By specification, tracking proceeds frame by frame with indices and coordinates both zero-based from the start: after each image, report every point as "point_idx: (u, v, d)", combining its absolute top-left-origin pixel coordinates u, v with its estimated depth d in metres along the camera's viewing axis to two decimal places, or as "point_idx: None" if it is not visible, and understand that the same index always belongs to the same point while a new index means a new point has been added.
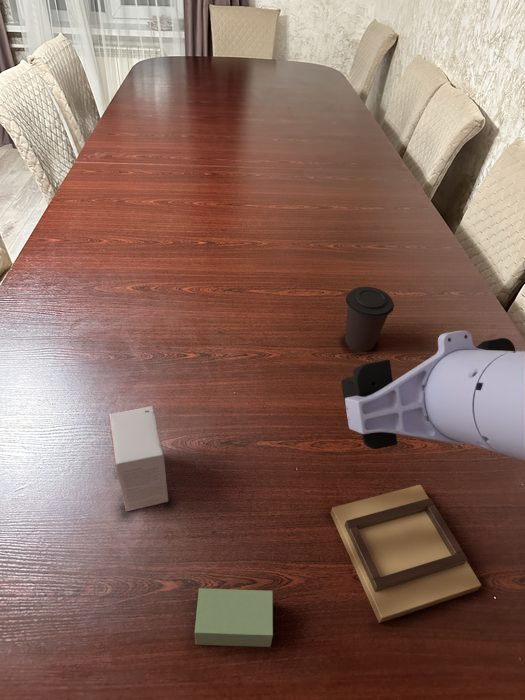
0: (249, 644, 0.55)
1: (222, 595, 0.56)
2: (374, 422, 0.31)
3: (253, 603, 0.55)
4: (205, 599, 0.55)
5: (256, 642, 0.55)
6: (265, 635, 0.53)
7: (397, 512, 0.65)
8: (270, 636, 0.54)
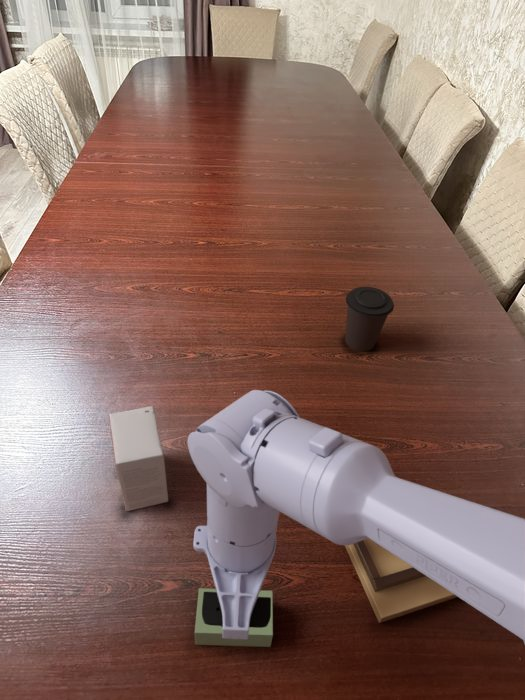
0: (249, 644, 0.55)
1: None
2: (243, 617, 0.40)
3: None
4: None
5: (256, 642, 0.55)
6: (265, 635, 0.53)
7: None
8: (270, 636, 0.54)
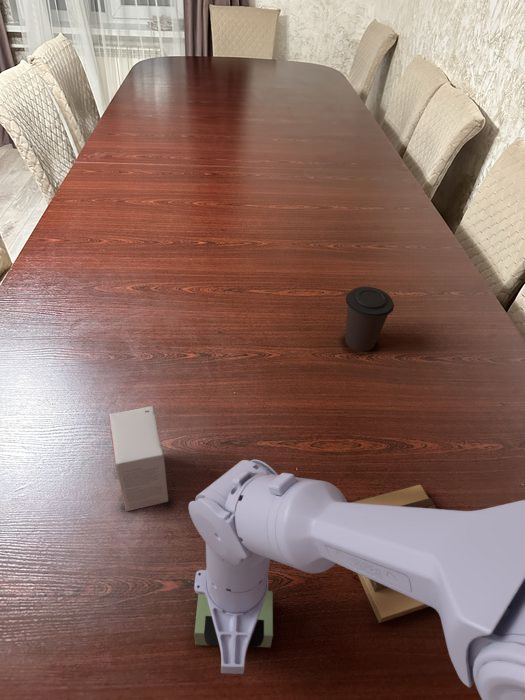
0: None
1: None
2: (239, 654, 0.46)
3: None
4: (205, 599, 0.55)
5: None
6: (265, 635, 0.53)
7: None
8: (270, 636, 0.53)
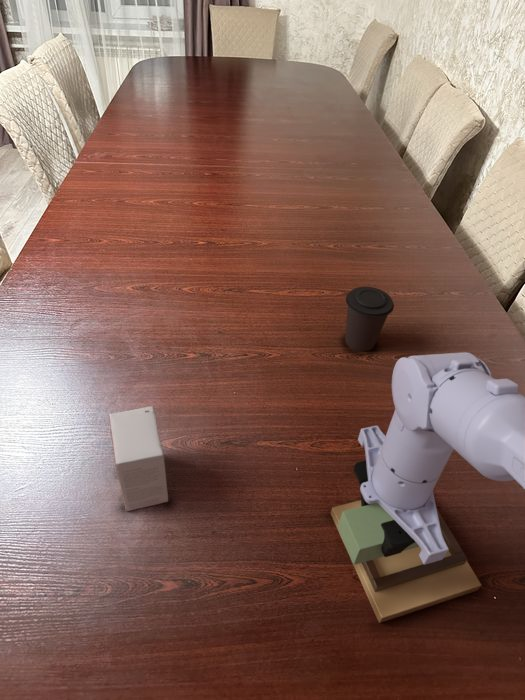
0: None
1: (366, 511, 0.56)
2: (437, 542, 0.47)
3: None
4: (353, 519, 0.56)
5: None
6: None
7: None
8: None
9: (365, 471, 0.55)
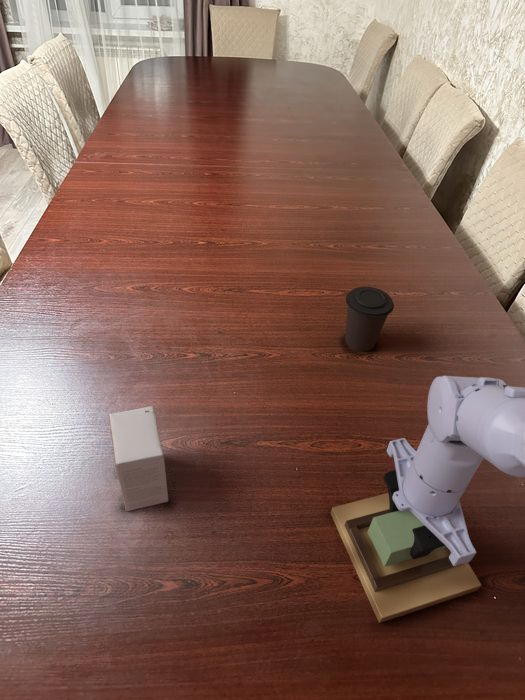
0: None
1: (395, 517, 0.61)
2: (465, 545, 0.52)
3: None
4: (384, 524, 0.60)
5: None
6: None
7: None
8: None
9: (395, 480, 0.59)
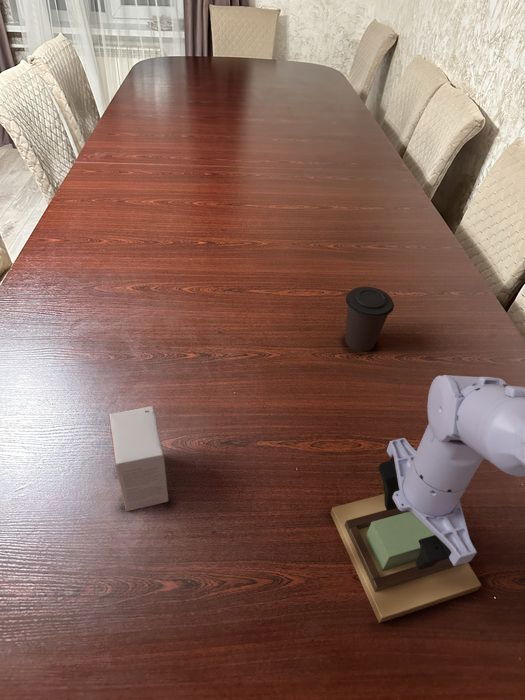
0: None
1: (393, 521, 0.62)
2: (465, 545, 0.52)
3: None
4: (382, 528, 0.61)
5: None
6: None
7: (397, 512, 0.65)
8: None
9: (389, 471, 0.60)
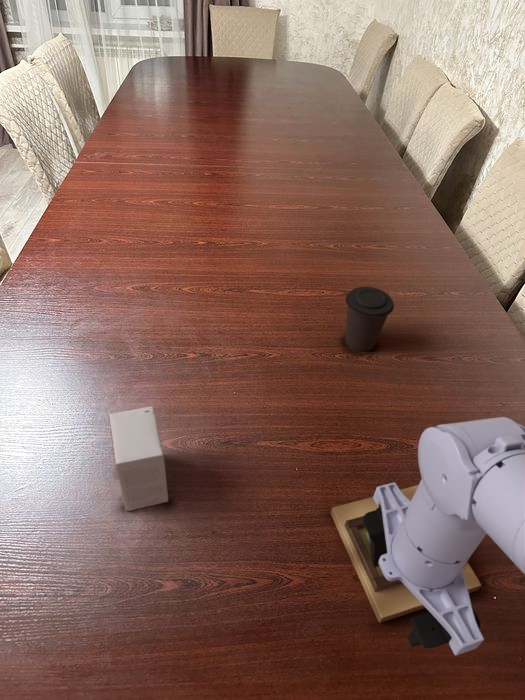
0: None
1: None
2: (469, 629, 0.41)
3: None
4: None
5: None
6: None
7: None
8: None
9: (376, 523, 0.49)
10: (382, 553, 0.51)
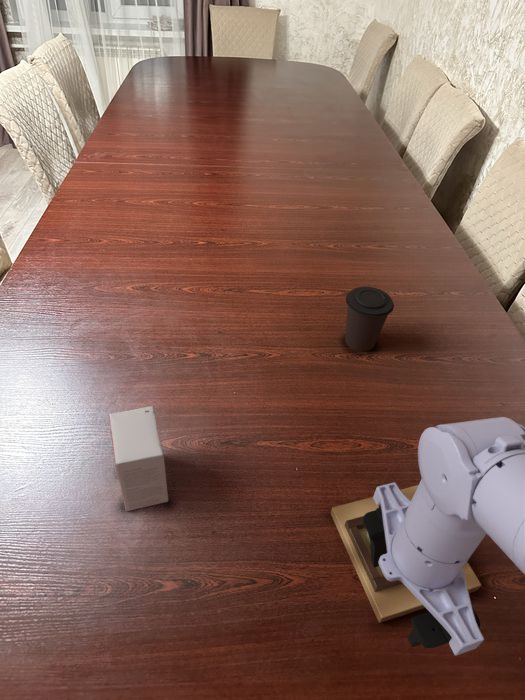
0: None
1: None
2: (469, 629, 0.41)
3: None
4: None
5: None
6: None
7: None
8: None
9: (376, 523, 0.49)
10: (382, 553, 0.51)
